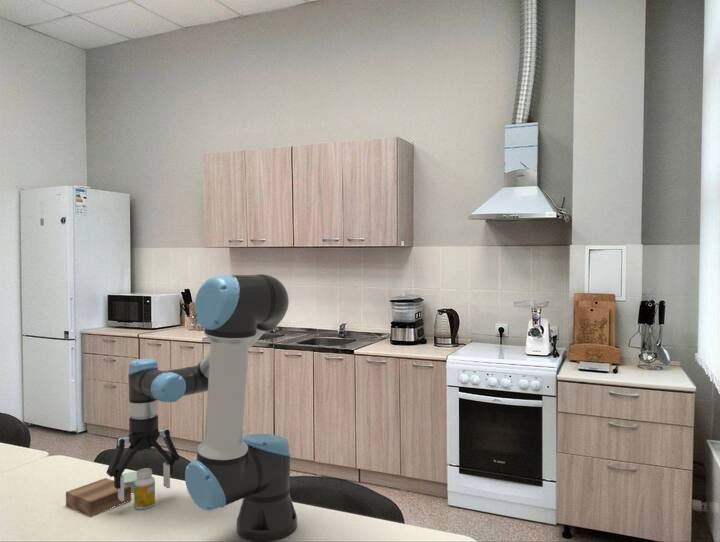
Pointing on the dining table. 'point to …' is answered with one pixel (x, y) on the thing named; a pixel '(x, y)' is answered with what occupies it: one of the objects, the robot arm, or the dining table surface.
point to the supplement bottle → (144, 489)
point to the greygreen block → (130, 479)
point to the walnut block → (96, 497)
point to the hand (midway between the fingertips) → (144, 493)
